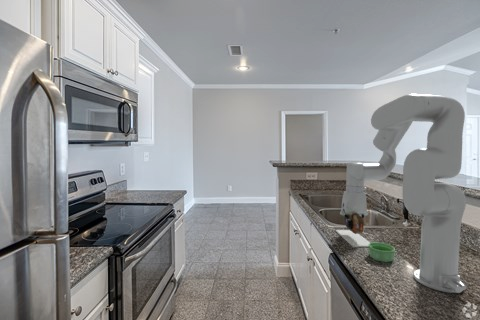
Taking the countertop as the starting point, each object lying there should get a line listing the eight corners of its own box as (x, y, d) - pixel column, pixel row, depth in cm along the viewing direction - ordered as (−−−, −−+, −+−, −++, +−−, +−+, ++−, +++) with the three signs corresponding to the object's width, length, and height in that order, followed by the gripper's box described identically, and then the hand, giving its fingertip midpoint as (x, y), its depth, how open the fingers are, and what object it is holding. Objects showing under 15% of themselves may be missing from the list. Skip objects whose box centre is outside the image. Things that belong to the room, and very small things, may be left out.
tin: (344, 225, 126) (343, 209, 126) (350, 225, 126) (350, 208, 126) (357, 236, 111) (357, 217, 111) (365, 236, 111) (364, 217, 111)
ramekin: (399, 263, 94) (400, 251, 94) (374, 262, 95) (374, 250, 95) (387, 253, 103) (387, 242, 103) (364, 252, 104) (364, 241, 104)
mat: (374, 247, 109) (374, 245, 109) (353, 246, 109) (353, 245, 109) (353, 231, 129) (353, 230, 129) (335, 231, 129) (335, 230, 129)
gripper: (368, 187, 121) (367, 225, 122) (334, 187, 121) (333, 225, 123) (376, 190, 114) (375, 231, 115) (340, 190, 114) (339, 231, 115)
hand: (353, 228), depth 119 cm, fingers closed on tin, 2 cm apart
